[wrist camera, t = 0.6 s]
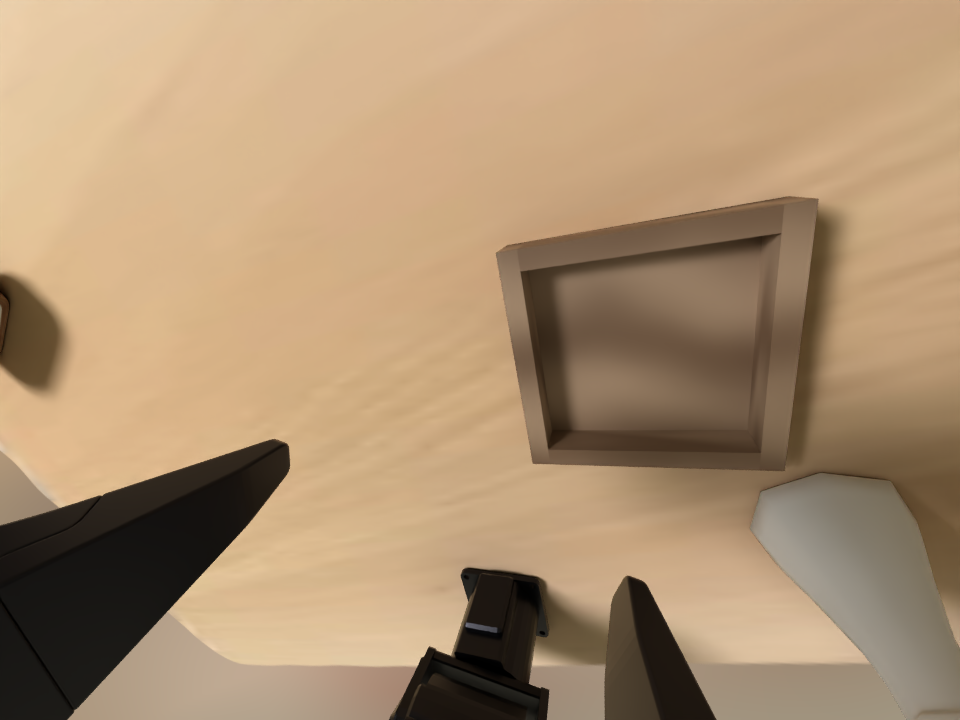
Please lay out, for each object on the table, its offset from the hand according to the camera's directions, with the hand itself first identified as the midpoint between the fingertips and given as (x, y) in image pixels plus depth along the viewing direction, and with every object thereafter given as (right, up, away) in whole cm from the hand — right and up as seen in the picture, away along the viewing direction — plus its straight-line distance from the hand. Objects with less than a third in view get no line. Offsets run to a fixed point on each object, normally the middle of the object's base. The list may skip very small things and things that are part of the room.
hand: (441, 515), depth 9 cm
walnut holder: (+9, +5, +10) cm, 15 cm away
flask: (+20, -5, +12) cm, 24 cm away
